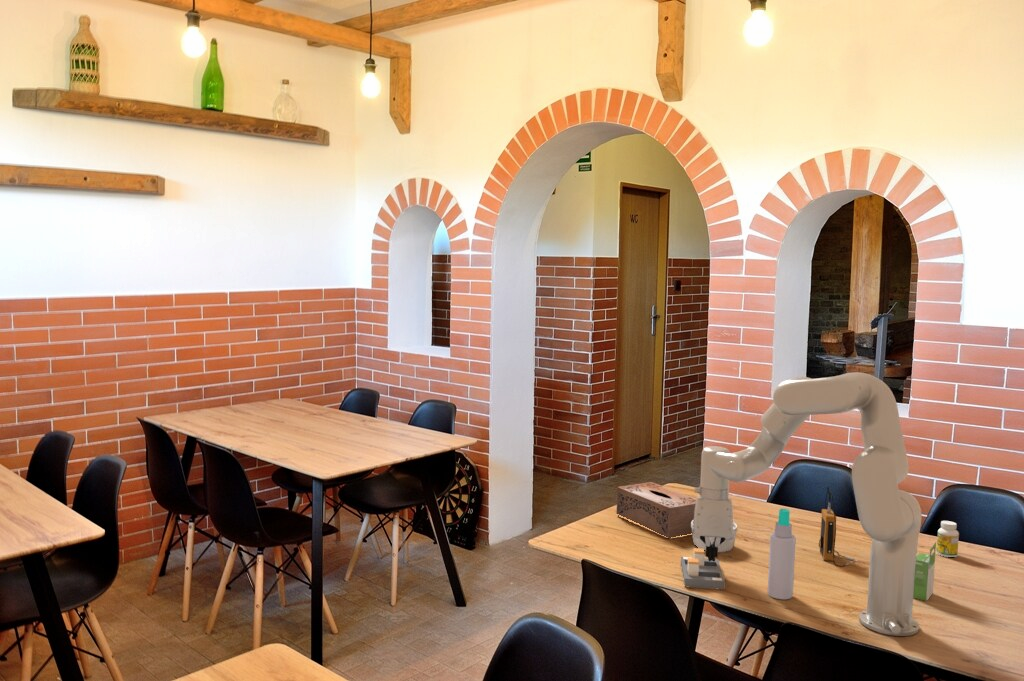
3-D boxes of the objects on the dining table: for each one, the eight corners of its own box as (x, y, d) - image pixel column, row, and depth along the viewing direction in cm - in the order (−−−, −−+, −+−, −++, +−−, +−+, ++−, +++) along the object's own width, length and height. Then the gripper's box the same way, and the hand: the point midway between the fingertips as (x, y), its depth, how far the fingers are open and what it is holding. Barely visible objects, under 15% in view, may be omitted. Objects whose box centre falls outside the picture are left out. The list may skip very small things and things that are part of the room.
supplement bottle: (961, 557, 235) (964, 524, 235) (946, 558, 234) (949, 526, 233) (946, 551, 241) (948, 519, 240) (932, 552, 239) (934, 520, 238)
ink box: (916, 589, 211) (920, 538, 210) (933, 593, 209) (937, 542, 207) (909, 597, 206) (913, 545, 204) (926, 601, 203) (930, 549, 202)
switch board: (724, 589, 208) (724, 581, 208) (684, 586, 209) (684, 578, 209) (717, 567, 224) (718, 558, 224) (680, 564, 225) (680, 556, 225)
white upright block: (698, 581, 211) (698, 562, 211) (687, 580, 212) (688, 561, 211) (697, 577, 214) (698, 558, 214) (687, 576, 215) (687, 557, 214)
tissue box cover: (616, 516, 268) (617, 487, 267) (650, 510, 275) (651, 481, 274) (668, 540, 246) (669, 508, 245) (704, 533, 253) (705, 501, 252)
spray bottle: (782, 602, 201) (787, 515, 199) (762, 594, 206) (766, 509, 204) (797, 596, 205) (802, 511, 203) (777, 588, 209) (781, 505, 207)
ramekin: (689, 551, 236) (690, 528, 235) (690, 537, 248) (691, 515, 248) (737, 556, 233) (738, 532, 232) (735, 541, 245) (736, 519, 245)
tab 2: (703, 570, 219) (704, 552, 219) (693, 569, 219) (694, 551, 219) (702, 566, 222) (703, 548, 221) (693, 566, 222) (693, 548, 222)
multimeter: (864, 569, 225) (868, 498, 223) (825, 565, 227) (829, 495, 225) (853, 551, 239) (856, 484, 237) (817, 548, 241) (820, 481, 239)
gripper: (686, 495, 216) (683, 562, 217) (745, 498, 213) (741, 566, 215) (684, 487, 223) (682, 552, 225) (741, 490, 221) (738, 556, 223)
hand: (711, 559), depth 220 cm, fingers closed
